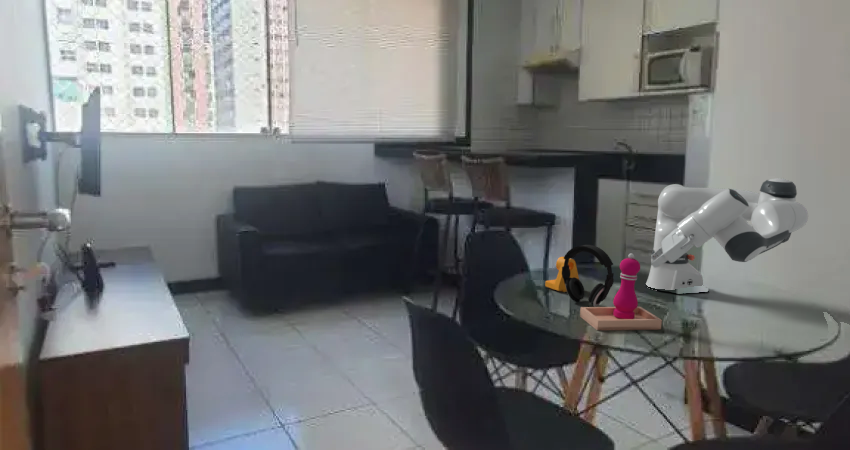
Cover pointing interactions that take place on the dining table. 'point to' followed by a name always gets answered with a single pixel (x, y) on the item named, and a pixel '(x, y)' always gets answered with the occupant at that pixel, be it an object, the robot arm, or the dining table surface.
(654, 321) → the tray
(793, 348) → the dining table surface
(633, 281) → the pepper mill
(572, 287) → the headphones
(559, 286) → the bracket
